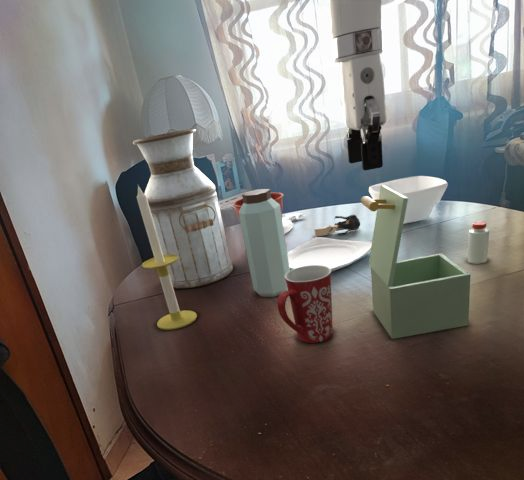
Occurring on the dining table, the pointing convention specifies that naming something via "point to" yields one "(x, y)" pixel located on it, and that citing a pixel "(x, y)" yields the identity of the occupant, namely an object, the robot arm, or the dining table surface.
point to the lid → (386, 231)
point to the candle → (163, 272)
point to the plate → (327, 253)
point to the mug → (308, 302)
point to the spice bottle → (478, 243)
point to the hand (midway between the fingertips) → (364, 165)
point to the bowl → (415, 194)
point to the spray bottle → (289, 221)
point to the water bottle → (264, 242)
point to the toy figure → (339, 226)
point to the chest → (422, 296)
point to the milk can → (185, 211)
